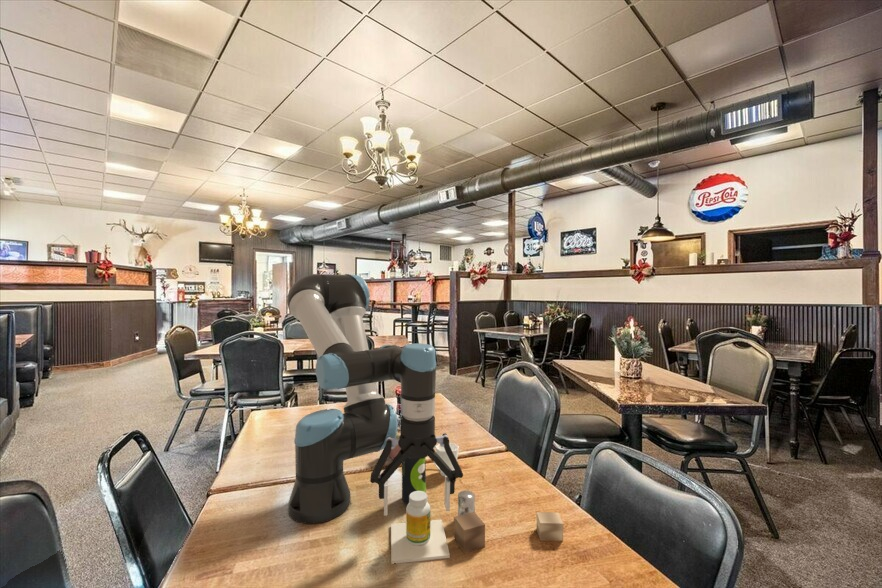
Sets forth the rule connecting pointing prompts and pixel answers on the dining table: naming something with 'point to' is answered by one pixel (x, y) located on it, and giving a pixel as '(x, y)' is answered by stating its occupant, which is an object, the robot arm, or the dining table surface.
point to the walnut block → (469, 532)
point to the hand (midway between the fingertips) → (416, 509)
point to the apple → (395, 449)
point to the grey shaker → (466, 502)
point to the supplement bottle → (418, 519)
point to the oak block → (549, 526)
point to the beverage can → (413, 477)
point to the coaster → (412, 553)
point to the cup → (444, 456)
